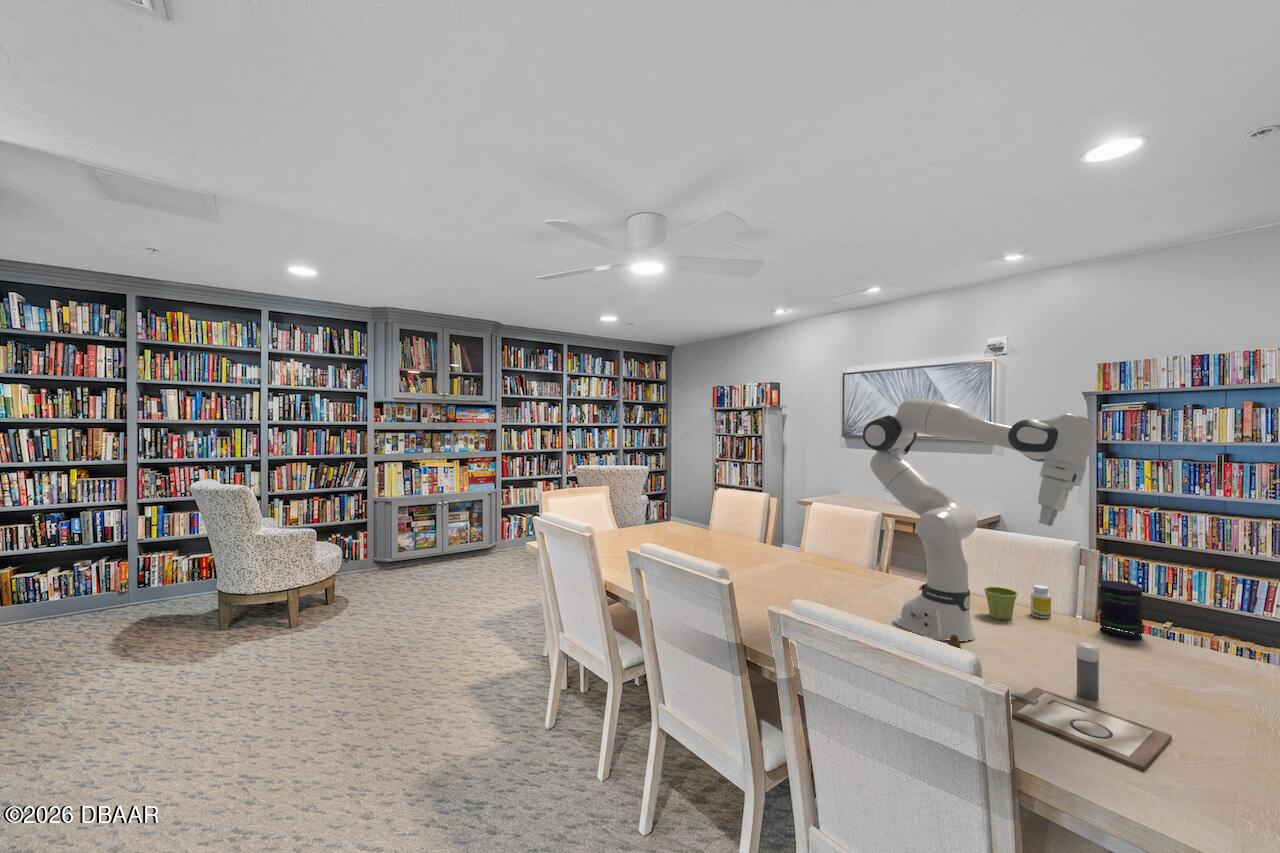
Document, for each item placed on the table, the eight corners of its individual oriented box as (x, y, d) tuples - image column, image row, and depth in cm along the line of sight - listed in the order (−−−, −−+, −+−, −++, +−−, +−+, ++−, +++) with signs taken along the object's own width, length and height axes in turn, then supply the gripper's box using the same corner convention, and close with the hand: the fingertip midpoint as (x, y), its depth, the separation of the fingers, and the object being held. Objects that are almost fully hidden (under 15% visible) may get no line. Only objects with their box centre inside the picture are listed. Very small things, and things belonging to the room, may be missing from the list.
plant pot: (1005, 624, 172) (1005, 597, 172) (977, 614, 181) (977, 588, 181) (1024, 619, 175) (1024, 593, 175) (996, 610, 184) (996, 585, 184)
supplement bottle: (1054, 619, 176) (1054, 589, 175) (1035, 618, 177) (1035, 588, 176) (1045, 613, 181) (1045, 584, 181) (1027, 612, 182) (1027, 583, 182)
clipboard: (993, 710, 122) (993, 703, 122) (1028, 687, 131) (1028, 681, 131) (1143, 771, 100) (1143, 762, 100) (1171, 739, 110) (1171, 731, 110)
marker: (1073, 694, 128) (1073, 644, 128) (1080, 689, 130) (1080, 640, 130) (1095, 702, 124) (1095, 651, 124) (1102, 697, 127) (1102, 646, 127)
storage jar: (1104, 637, 161) (1104, 587, 161) (1095, 625, 170) (1095, 578, 170) (1148, 643, 156) (1148, 592, 156) (1136, 631, 165) (1136, 583, 165)
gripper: (1051, 475, 151) (1036, 522, 151) (1041, 467, 136) (1024, 519, 137) (1079, 482, 146) (1064, 530, 147) (1072, 474, 132) (1055, 527, 132)
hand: (1045, 524), depth 142 cm, fingers open, 8 cm apart
